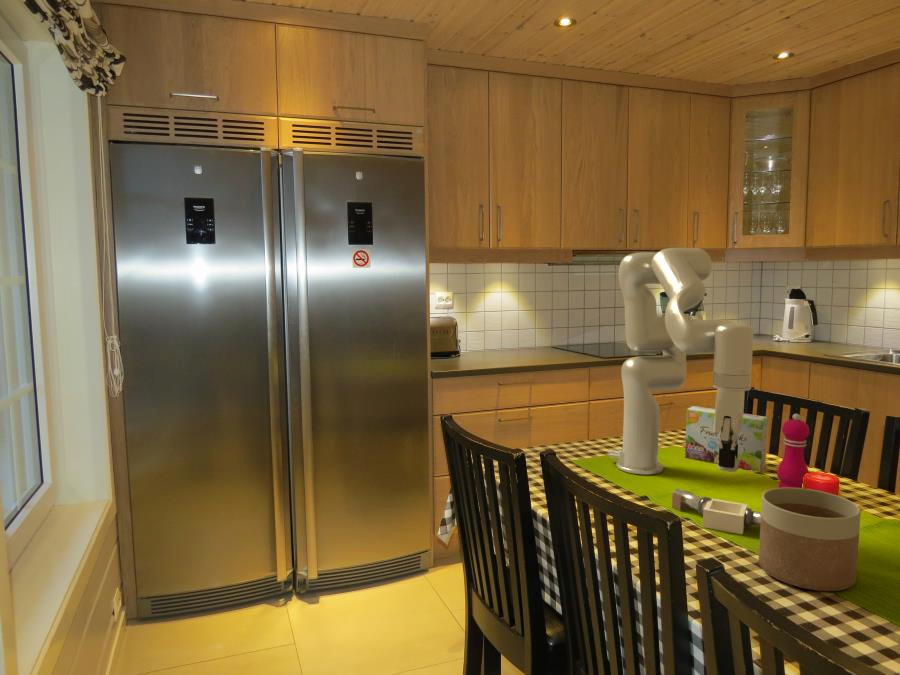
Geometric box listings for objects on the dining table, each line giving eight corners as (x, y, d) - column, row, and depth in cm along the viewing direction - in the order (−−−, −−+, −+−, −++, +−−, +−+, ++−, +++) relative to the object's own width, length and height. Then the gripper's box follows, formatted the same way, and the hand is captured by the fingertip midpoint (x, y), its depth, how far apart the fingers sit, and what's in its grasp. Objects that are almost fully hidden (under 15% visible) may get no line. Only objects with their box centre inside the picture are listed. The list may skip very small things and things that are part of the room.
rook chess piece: (713, 466, 145) (714, 430, 144) (732, 465, 145) (734, 430, 144) (723, 472, 140) (724, 436, 139) (743, 472, 141) (744, 435, 140)
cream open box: (702, 527, 143) (703, 509, 142) (708, 514, 150) (709, 498, 149) (742, 534, 139) (743, 516, 138) (746, 521, 146) (747, 504, 145)
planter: (819, 602, 111) (824, 525, 109) (739, 564, 125) (743, 495, 123) (874, 582, 118) (880, 508, 117) (793, 548, 132) (797, 482, 131)
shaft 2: (743, 531, 140) (744, 511, 140) (745, 524, 144) (746, 504, 144) (790, 540, 136) (791, 519, 135) (791, 532, 140) (792, 512, 139)
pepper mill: (812, 497, 161) (817, 417, 159) (780, 495, 162) (785, 416, 160) (802, 487, 168) (807, 411, 166) (772, 485, 169) (776, 409, 167)
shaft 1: (713, 515, 149) (714, 496, 149) (700, 519, 147) (701, 500, 147) (682, 503, 157) (683, 485, 156) (669, 506, 155) (670, 488, 154)
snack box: (683, 458, 193) (686, 408, 192) (690, 454, 198) (693, 405, 196) (760, 473, 180) (763, 419, 178) (766, 468, 184) (769, 415, 182)
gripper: (718, 374, 150) (715, 452, 152) (707, 385, 135) (703, 471, 137) (754, 376, 146) (750, 456, 148) (746, 389, 131) (742, 477, 133)
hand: (728, 463), depth 143 cm, fingers closed on rook chess piece, 4 cm apart
